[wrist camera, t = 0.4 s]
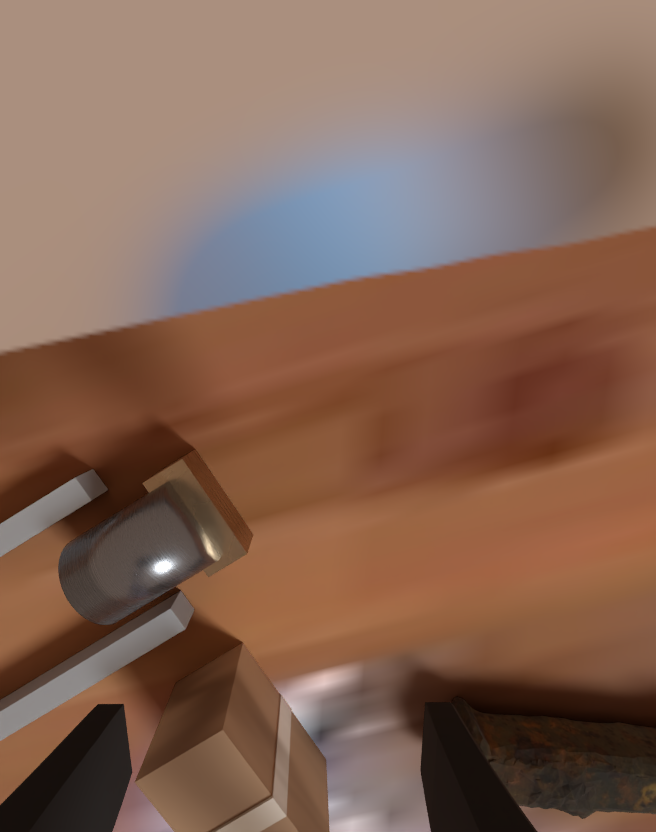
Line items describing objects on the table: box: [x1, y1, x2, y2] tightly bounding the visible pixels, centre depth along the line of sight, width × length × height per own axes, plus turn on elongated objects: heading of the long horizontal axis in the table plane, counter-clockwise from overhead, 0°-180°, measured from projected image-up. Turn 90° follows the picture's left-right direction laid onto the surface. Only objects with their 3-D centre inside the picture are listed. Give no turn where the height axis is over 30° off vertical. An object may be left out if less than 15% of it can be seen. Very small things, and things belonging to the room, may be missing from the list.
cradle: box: [0, 469, 194, 741], centre depth 19 cm, size 14×8×2 cm, turn 121°
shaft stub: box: [58, 449, 253, 625], centre depth 18 cm, size 6×5×4 cm
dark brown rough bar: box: [452, 697, 656, 819], centre depth 20 cm, size 19×4×5 cm, turn 80°
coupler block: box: [135, 643, 329, 832], centre depth 19 cm, size 4×8×5 cm, turn 31°
